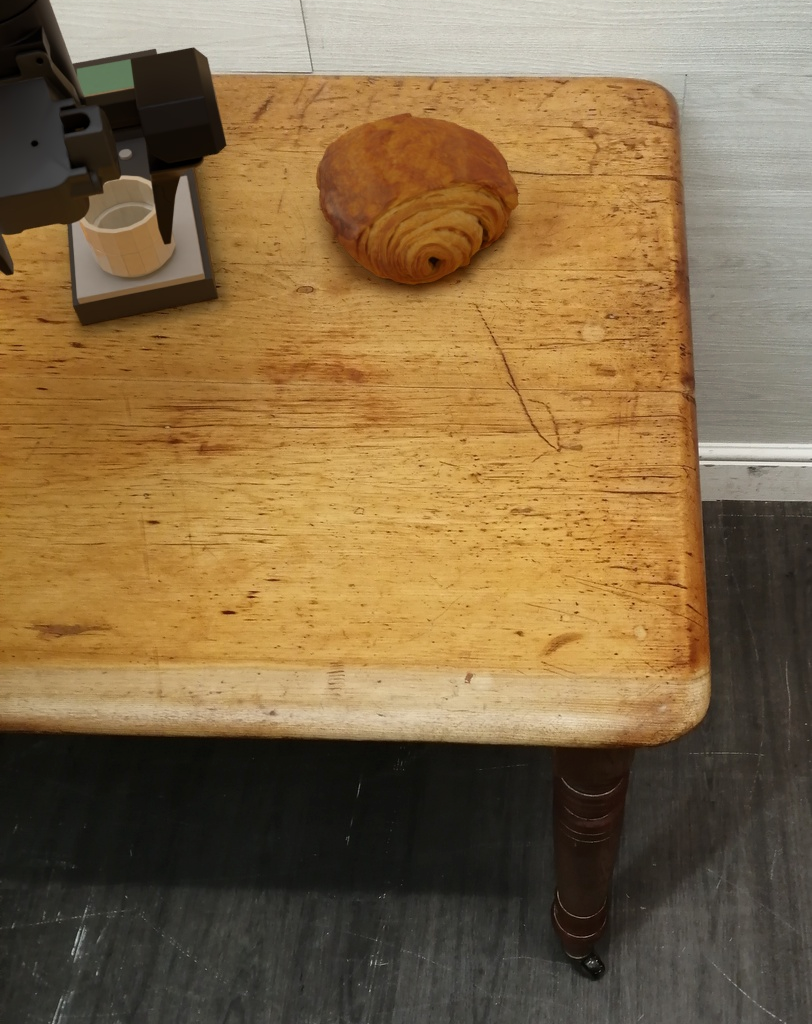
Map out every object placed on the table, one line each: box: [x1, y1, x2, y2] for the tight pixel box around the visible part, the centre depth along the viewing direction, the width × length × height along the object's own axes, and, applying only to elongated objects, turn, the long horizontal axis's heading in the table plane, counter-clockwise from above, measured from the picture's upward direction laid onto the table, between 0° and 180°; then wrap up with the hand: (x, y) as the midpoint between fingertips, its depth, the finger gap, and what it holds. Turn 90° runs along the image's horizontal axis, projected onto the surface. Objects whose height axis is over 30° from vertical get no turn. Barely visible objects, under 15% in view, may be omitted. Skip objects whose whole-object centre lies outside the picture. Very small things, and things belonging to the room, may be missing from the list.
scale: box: [66, 48, 219, 326], centre depth 77 cm, size 10×26×5 cm, turn 13°
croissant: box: [315, 112, 520, 285], centre depth 73 cm, size 14×16×8 cm
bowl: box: [79, 175, 175, 278], centre depth 70 cm, size 6×6×4 cm
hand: (89, 254), depth 58 cm, fingers open, 9 cm apart
